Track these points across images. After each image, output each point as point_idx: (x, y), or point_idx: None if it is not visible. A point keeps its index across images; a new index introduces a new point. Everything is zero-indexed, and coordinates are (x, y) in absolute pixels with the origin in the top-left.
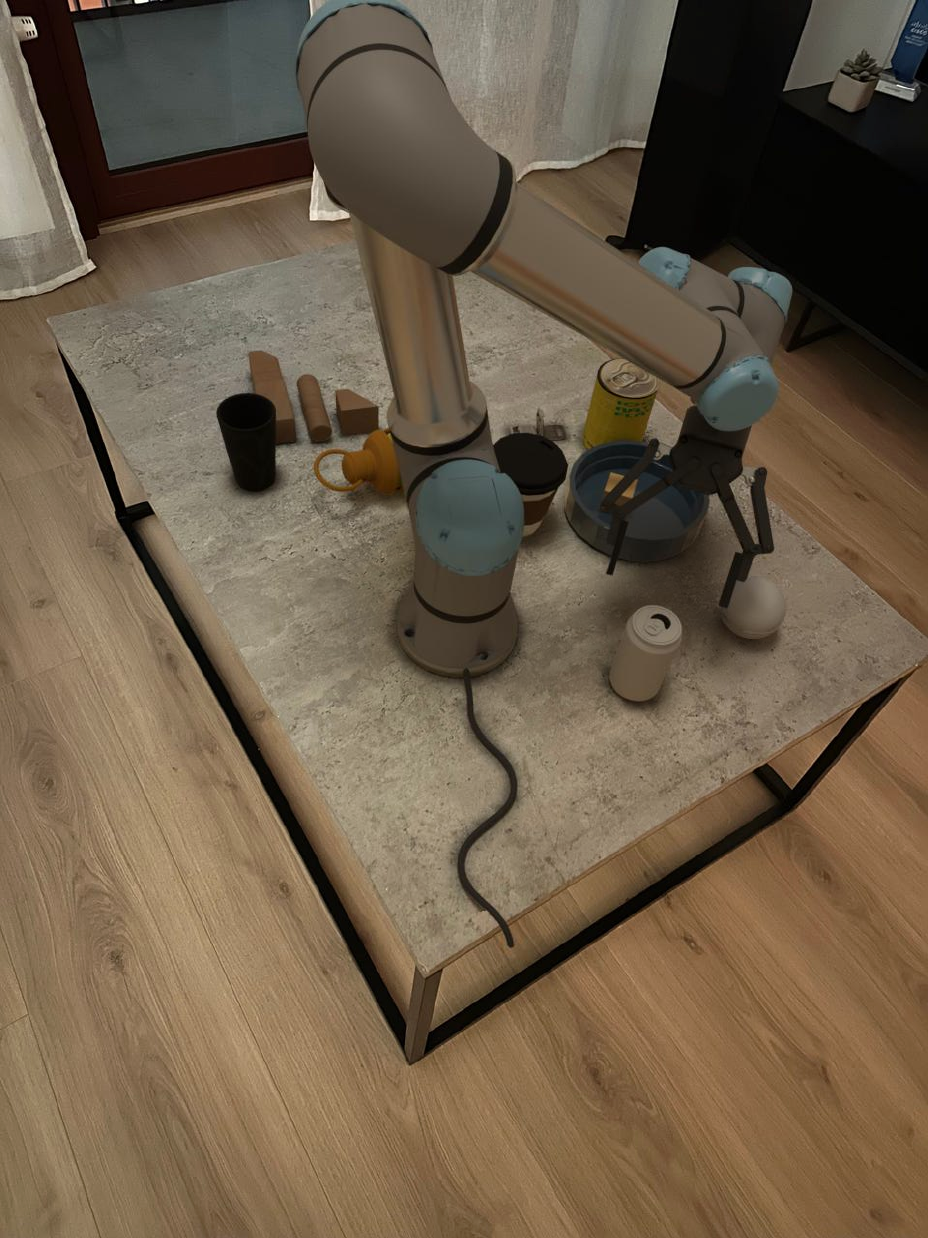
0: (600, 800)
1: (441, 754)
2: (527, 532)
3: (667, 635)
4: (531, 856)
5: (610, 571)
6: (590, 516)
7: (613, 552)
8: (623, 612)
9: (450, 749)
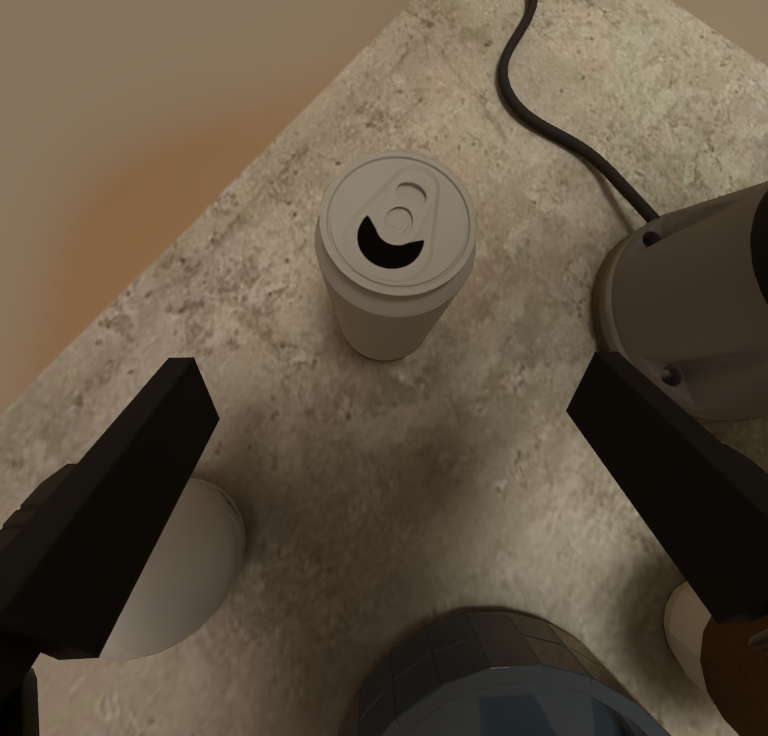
0: (386, 113)
1: (609, 111)
2: (689, 593)
3: (359, 193)
4: (450, 22)
5: (613, 359)
6: (622, 698)
7: (677, 406)
8: (436, 468)
9: (602, 122)
